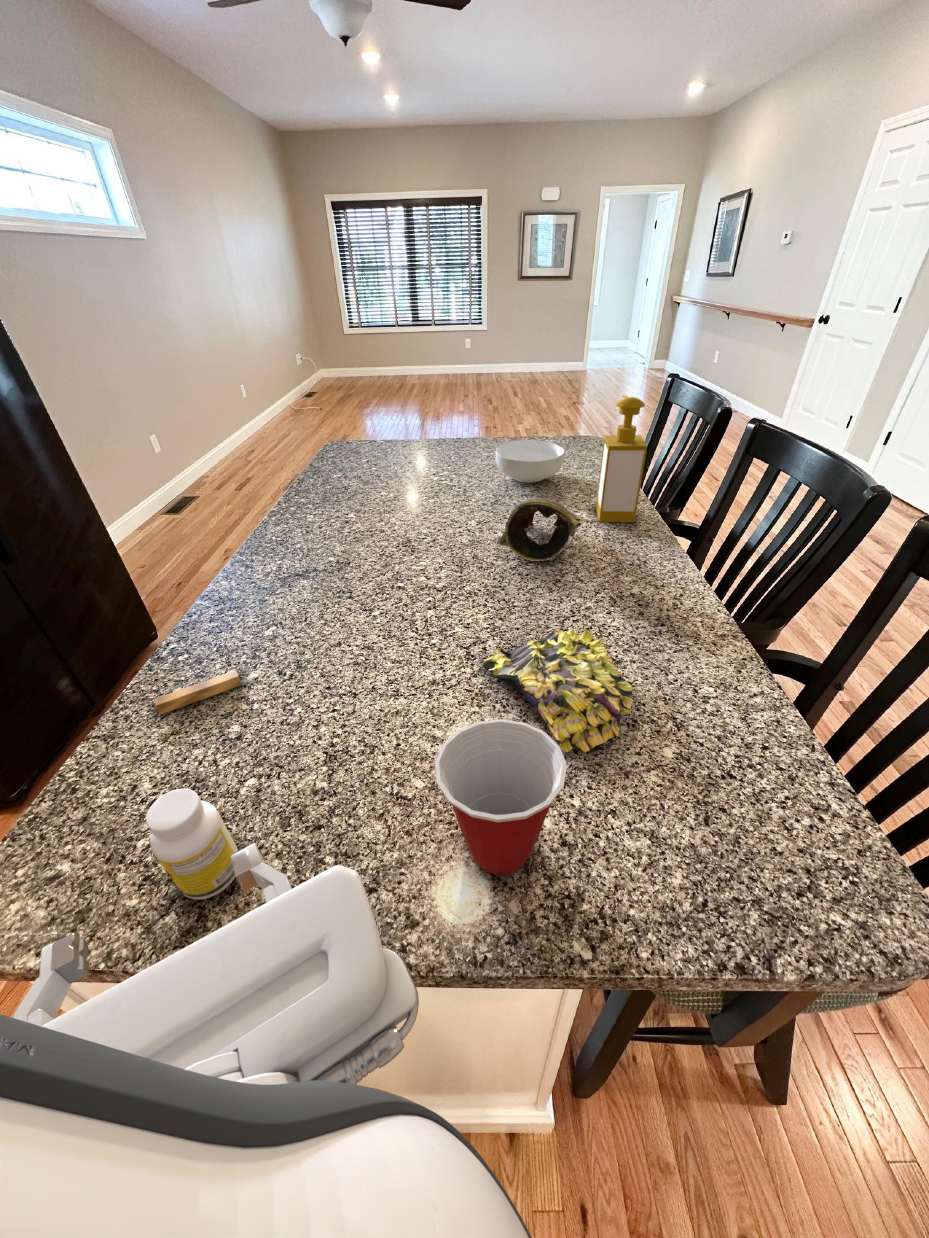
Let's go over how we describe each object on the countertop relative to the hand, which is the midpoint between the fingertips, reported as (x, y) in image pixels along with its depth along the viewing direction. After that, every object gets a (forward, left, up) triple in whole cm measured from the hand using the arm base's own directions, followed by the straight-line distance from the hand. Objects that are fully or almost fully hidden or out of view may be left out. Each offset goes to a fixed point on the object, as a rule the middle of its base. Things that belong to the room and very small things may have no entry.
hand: (161, 895), depth 30 cm
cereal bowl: (+87, +78, -16) cm, 118 cm away
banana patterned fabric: (+42, +13, -16) cm, 47 cm away
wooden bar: (+3, +38, -16) cm, 42 cm away
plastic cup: (+24, 0, -16) cm, 29 cm away
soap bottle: (+89, +51, -16) cm, 104 cm away
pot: (+65, +45, -16) cm, 81 cm away
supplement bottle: (0, +12, -16) cm, 20 cm away
